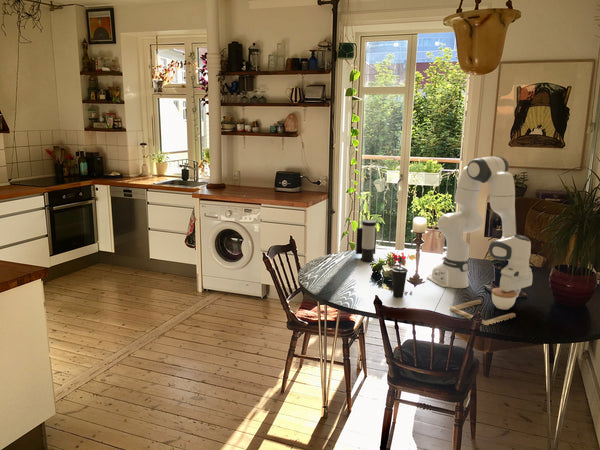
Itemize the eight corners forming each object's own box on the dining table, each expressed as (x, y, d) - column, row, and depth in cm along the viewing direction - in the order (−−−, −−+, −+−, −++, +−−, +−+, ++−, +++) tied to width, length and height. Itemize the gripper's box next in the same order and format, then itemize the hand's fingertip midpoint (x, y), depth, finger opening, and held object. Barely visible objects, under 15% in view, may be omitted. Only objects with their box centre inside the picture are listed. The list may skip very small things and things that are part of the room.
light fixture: (358, 262, 296) (360, 222, 291) (355, 257, 307) (357, 218, 301) (378, 262, 297) (380, 222, 292) (374, 257, 308) (376, 218, 302)
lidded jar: (485, 306, 232) (487, 287, 230) (498, 301, 238) (500, 282, 236) (506, 313, 223) (509, 294, 221) (519, 307, 230) (521, 289, 228)
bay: (449, 309, 226) (449, 306, 226) (478, 302, 236) (479, 299, 236) (485, 326, 210) (485, 322, 209) (515, 317, 220) (515, 313, 219)
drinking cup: (387, 294, 245) (389, 255, 240) (400, 292, 247) (403, 254, 243) (395, 299, 238) (397, 259, 233) (408, 297, 240) (411, 258, 236)
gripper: (525, 264, 238) (522, 291, 241) (498, 270, 228) (495, 299, 231) (537, 268, 233) (534, 295, 236) (510, 274, 222) (507, 303, 225)
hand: (514, 297), depth 233 cm, fingers closed
